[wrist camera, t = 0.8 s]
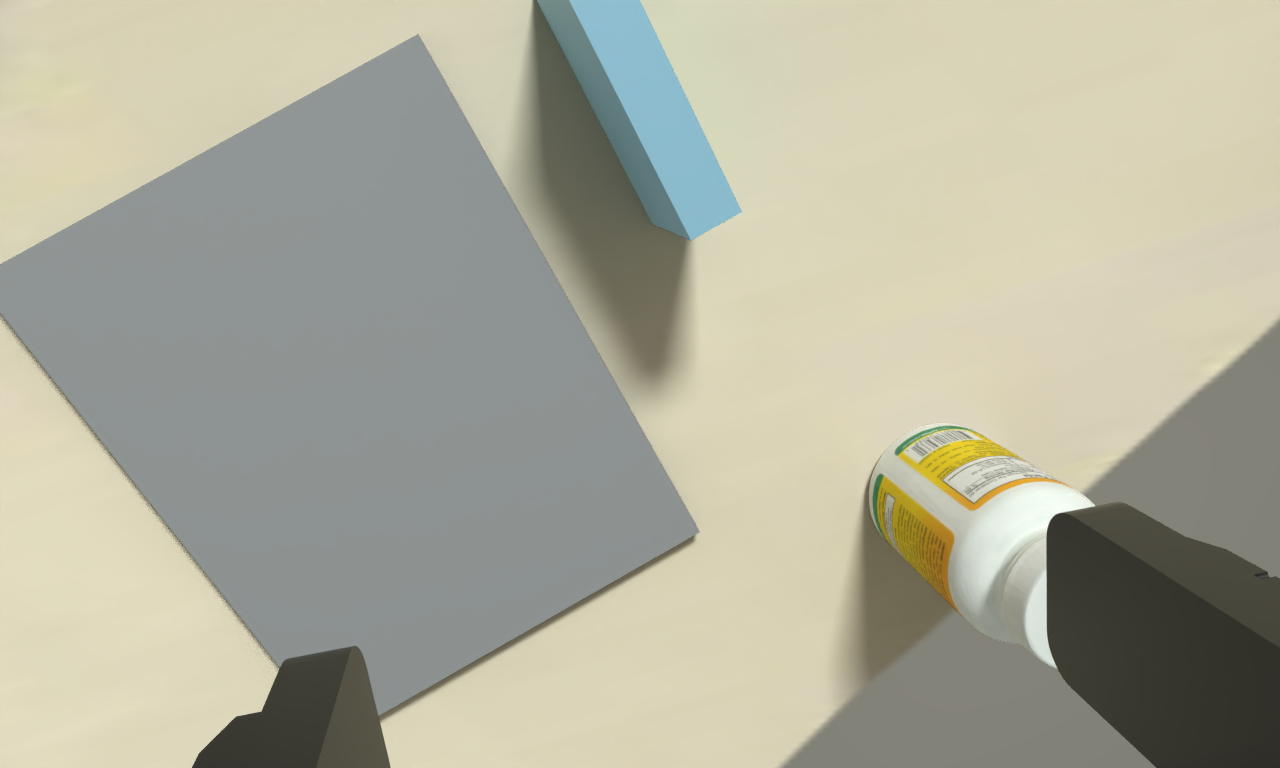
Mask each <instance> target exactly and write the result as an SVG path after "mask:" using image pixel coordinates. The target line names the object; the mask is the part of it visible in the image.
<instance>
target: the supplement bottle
mask: <svg viewBox="0 0 1280 768" xmlns="http://www.w3.org/2000/svg"><path fill="white" fill-rule="evenodd" d="M869 506H870V512H871V516H872V519H873V522H874V524H875V526H876V528H877V530H878V531H879V533H880V534H881V535H882V537H883V538H884V539H885V540H886V541H887V542H888V543H889V544H890V545H891V546H892V547H893V548H894V549H895V550H896V551H897V552H898V553H899V554H900V555H901V556H902V557H903V558H904V559H905V560H906V561H907V562H908V563H909V564H910V565H911V566H912V567H913V568H914V569H915V570H916V571H917V572H918V573H919V574H920V575H921V576H922V577H923V578H924V579H925V580H926V581H927V582H928V583H929V584H930V585H931V586H932V587H933V588H934V589H935V590H936V591H937V592H938V593H939V594H940V595H941V596H942V597H943V598H944V599H945V600H946V601H947V602H948V603H949V604H950V605H951V606H952V607H953V608H954V609H955V610H956V611H957V612H958V613H959V614H960V615H961V616H962V617H963V618H964V619H965V620H966V621H968V622H969V623H970V624H971V625H972V626H973V627H974V628H976V629H977V630H978V631H980V632H982V633H983V634H985V635H987V636H989V637H991V638H994V639H996V640H1000V641H1004V642H1008V643H1016V644H1021V645H1022V646H1024V647H1026V648H1027V649H1028V650H1029V651H1030V652H1031V653H1032V654H1034V655H1035V656H1036V657H1037V658H1038V659H1040V660H1041V661H1042V662H1044V663H1045V664H1047V665H1049V666H1051V667H1053V668H1056V669H1057V667H1056V665H1055V662H1054V660H1053V658H1052V655H1051V652H1050V648H1049V644H1048V638H1047V578H1046V537H1047V528H1048V525H1049V522H1050V520H1051V519H1052V517H1053V516H1055V515H1056V514H1058V513H1062V512H1067V511H1073V510H1078V509H1083V508H1088V507H1094V506H1095V505H1094V504H1093V503H1092V502H1091V501H1090V500H1089V499H1088V498H1086V497H1085V496H1084V495H1082V494H1081V493H1079V492H1078V491H1076V490H1075V489H1073V488H1071V487H1070V486H1068V485H1066V484H1065V483H1063V482H1061V481H1059V480H1058V479H1056V478H1054V477H1052V476H1051V475H1049V474H1047V473H1046V472H1044V471H1042V470H1040V469H1039V468H1037V467H1035V466H1034V465H1032V464H1030V463H1028V462H1027V461H1025V460H1023V459H1022V458H1020V457H1018V456H1017V455H1015V454H1013V453H1012V452H1010V451H1008V450H1007V449H1005V448H1003V447H1001V446H999V445H998V444H996V443H994V442H993V441H991V440H989V439H987V438H986V437H984V436H983V435H981V434H979V433H977V432H975V431H974V430H972V429H970V428H967V427H965V426H961V425H957V424H952V423H934V424H928V425H924V426H920V427H918V428H915V429H913V430H911V431H909V432H907V433H906V434H904V435H902V436H901V437H899V438H898V439H897V440H896V441H894V442H893V443H892V444H891V445H890V446H889V447H888V448H887V449H886V451H885V452H884V453H883V455H882V456H881V457H880V459H879V461H878V463H877V465H876V467H875V469H874V471H873V474H872V477H871V480H870V488H869Z"/></svg>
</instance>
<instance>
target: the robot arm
mask: <svg viewBox="0 0 1280 768" xmlns="http://www.w3.org/2000/svg"><path fill="white" fill-rule="evenodd" d="M1046 578H1047V638H1048V644H1049V648H1050V652H1051V655H1052V658H1053V660H1054V662H1055V665H1056V667H1057V669H1058V670H1059V672H1060V674H1061V675H1062V677H1063V679H1064V680H1065V681H1066V682H1067V684H1068V685H1069V686H1070V687H1071V688H1072V689H1073V690H1074V691H1075V692H1076V693H1077V694H1078V695H1079V696H1081V697H1082V698H1083V699H1084V700H1085V701H1086V702H1087V703H1088V704H1089V705H1090V706H1091V707H1092V708H1093V709H1094V710H1096V711H1097V712H1098V713H1099V714H1100V715H1101V716H1102V717H1103V718H1104V719H1105V720H1106V721H1107V722H1108V723H1109V724H1111V726H1113V727H1114V728H1115V729H1116V730H1117V731H1118V732H1119V733H1120V734H1121V735H1122V736H1123V737H1124V738H1125V739H1126V740H1128V741H1129V742H1130V743H1131V744H1132V745H1133V746H1134V747H1135V748H1136V749H1137V750H1138V751H1139V752H1140V753H1141V754H1142V755H1144V756H1145V757H1146V758H1147V759H1148V760H1149V761H1150V762H1151V763H1152V764H1153V765H1154V766H1155V767H1156V768H1280V579H1279V578H1278V577H1271V578H1270V577H1269V576H1268V573H1267V571H1265V570H1263V569H1261V568H1259V567H1257V566H1256V565H1254V564H1252V563H1250V562H1248V561H1246V560H1244V559H1243V558H1241V557H1239V556H1237V555H1236V554H1234V553H1232V552H1230V551H1228V550H1226V549H1223V548H1220V547H1216V546H1213V545H1210V544H1207V543H1204V542H1200V541H1197V540H1194V539H1191V538H1187V537H1185V536H1183V535H1181V534H1179V533H1177V532H1176V531H1173V530H1172V529H1170V528H1169V527H1167V526H1165V525H1163V524H1162V523H1160V522H1158V521H1156V520H1154V519H1152V518H1151V517H1149V516H1147V515H1146V514H1144V513H1142V512H1140V511H1138V510H1137V509H1135V508H1133V507H1131V506H1129V505H1127V504H1125V503H1121V502H1115V503H1109V504H1105V505H1099V506H1094V507H1088V508H1083V509H1078V510H1073V511H1067V512H1062V513H1058V514H1056V515H1055V516H1053V517H1052V519H1051V520H1050V522H1049V525H1048V528H1047V537H1046ZM192 768H390V763H389V759H388V754H387V750H386V746H385V742H384V738H383V733H382V729H381V725H380V721H379V717H378V712H377V708H376V704H375V700H374V696H373V691H372V687H371V683H370V679H369V675H368V670H367V667H366V663H365V660H364V657H363V654H362V652H361V650H360V649H359V648H358V647H357V646H351V647H346V648H341V649H335V650H330V651H325V652H320V653H314V654H309V655H304V656H299V657H293V658H288V659H285V660H284V661H283V663H282V665H281V667H280V669H279V671H278V674H277V676H276V678H275V681H274V683H273V686H272V688H271V690H270V693H269V695H268V697H267V700H266V702H265V705H264V707H263V709H262V712H258V713H253V714H247V715H242V716H237V717H235V718H234V719H233V720H232V721H231V722H230V723H229V724H228V725H227V726H226V727H225V728H224V729H223V730H222V731H221V732H220V733H219V734H218V735H217V736H216V737H215V738H214V739H213V740H212V741H211V742H210V743H209V744H208V745H207V746H206V747H205V748H204V749H203V750H202V751H201V752H200V753H199V755H198V757H197V759H196V761H195V763H194V765H193V767H192Z"/></svg>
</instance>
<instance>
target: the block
mask: <svg viewBox="0 0 1280 768" xmlns="http://www.w3.org/2000/svg"><path fill="white" fill-rule="evenodd" d="M536 1H537V3H538V5H539V7H540V8H541V10H542V12H543V14H544V16H545V18H546V20H547V22H548V24H549V26H550V28H551V30H552V32H553V34H554V35H555V37H556V39H557V41H558V43H559V45H560V47H561V49H562V51H563V53H564V55H565V57H566V59H567V61H568V62H569V64H570V66H571V68H572V70H573V72H574V74H575V76H576V78H577V80H578V82H579V84H580V86H581V88H582V89H583V91H584V93H585V95H586V97H587V99H588V101H589V103H590V105H591V107H592V109H593V111H594V113H595V115H596V116H597V118H598V120H599V122H600V124H601V126H602V128H603V130H604V132H605V134H606V136H607V138H608V140H609V142H610V143H611V145H612V147H613V149H614V151H615V153H616V155H617V157H618V159H619V161H620V163H621V165H622V167H623V169H624V171H625V172H626V174H627V176H628V178H629V180H630V182H631V184H632V186H633V188H634V190H635V192H636V194H637V196H638V198H639V199H640V201H641V203H642V205H643V207H644V209H645V211H646V213H647V215H648V217H649V219H650V221H651V223H652V224H654V225H656V226H658V227H661V228H663V229H665V230H668V231H670V232H672V233H675V234H677V235H679V236H682V237H684V238H686V239H689V240H693V239H694V238H696V237H698V236H700V235H702V234H703V233H705V232H707V231H709V230H710V229H712V228H714V227H716V226H718V225H719V224H721V223H723V222H725V221H726V220H728V219H730V218H732V217H734V216H735V215H737V214H739V213H741V212H742V211H741V209H740V207H739V205H738V203H737V201H736V198H735V196H734V194H733V192H732V190H731V188H730V186H729V184H728V182H727V180H726V178H725V176H724V174H723V172H722V169H721V167H720V165H719V163H718V161H717V159H716V157H715V155H714V153H713V151H712V149H711V147H710V145H709V143H708V140H707V138H706V136H705V134H704V132H703V130H702V128H701V126H700V124H699V122H698V120H697V118H696V116H695V114H694V111H693V109H692V107H691V105H690V103H689V101H688V99H687V97H686V95H685V93H684V91H683V89H682V87H681V85H680V82H679V80H678V78H677V76H676V74H675V72H674V70H673V68H672V66H671V64H670V62H669V60H668V58H667V56H666V53H665V51H664V49H663V47H662V45H661V43H660V41H659V39H658V37H657V35H656V33H655V31H654V29H653V27H652V24H651V22H650V20H649V18H648V16H647V14H646V12H645V10H644V8H643V6H642V4H641V2H640V0H536Z"/></svg>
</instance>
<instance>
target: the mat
mask: <svg viewBox="0 0 1280 768" xmlns="http://www.w3.org/2000/svg"><path fill="white" fill-rule="evenodd" d="M0 313H1V315H2V316H3V317H4V319H5V320H6V321H7V322H8V324H9V325H10V326H11V327H12V329H13V330H14V331H15V332H16V334H17V335H18V336H19V338H20V339H21V340H22V341H23V343H24V344H25V345H26V346H27V348H28V349H29V350H30V351H31V353H32V354H33V355H34V357H35V358H36V359H37V360H38V362H39V363H40V364H41V365H42V367H43V368H44V369H45V371H46V372H47V373H48V374H49V376H50V377H51V378H52V379H53V381H54V382H55V383H56V384H57V386H58V387H59V388H60V390H61V391H62V392H63V393H64V395H65V396H66V397H67V398H68V400H69V401H70V402H71V404H72V405H73V406H74V407H75V409H76V410H77V411H78V412H79V414H80V415H81V416H82V417H83V419H84V420H85V421H86V423H87V424H88V425H89V426H90V428H91V429H92V430H93V431H94V433H95V434H96V435H97V437H98V438H99V439H100V440H101V442H102V443H103V444H104V445H105V447H106V448H107V449H108V450H109V452H110V453H111V454H112V456H113V457H114V458H115V459H116V461H117V462H118V463H119V464H120V466H121V467H122V468H123V470H124V471H125V472H126V473H127V475H128V476H129V477H130V478H131V480H132V481H133V482H134V483H135V485H136V486H137V487H138V489H139V490H140V491H141V492H142V494H143V495H144V496H145V497H146V499H147V500H148V501H149V503H150V504H151V505H152V506H153V508H154V509H155V510H156V511H157V513H158V514H159V515H160V516H161V518H162V519H163V520H164V522H165V523H166V524H167V525H168V527H169V528H170V529H171V530H172V532H173V533H174V534H175V535H176V537H177V538H178V539H179V541H180V542H181V543H182V544H183V546H184V547H185V548H186V549H187V551H188V552H189V553H190V555H191V556H192V557H193V558H194V560H195V561H196V562H197V563H198V565H199V566H200V567H201V568H202V570H203V571H204V572H205V574H206V575H207V576H208V577H209V579H210V580H211V581H212V582H213V584H214V585H215V586H216V588H217V589H218V590H219V591H220V593H221V594H222V595H223V596H224V598H225V599H226V600H227V601H228V603H229V604H230V605H231V607H232V608H233V609H234V610H235V612H236V613H237V614H238V615H239V617H240V618H241V619H242V621H243V622H244V623H245V624H246V626H247V627H248V628H249V629H250V631H251V632H252V633H253V634H254V636H255V637H256V638H257V640H258V641H259V642H260V643H261V645H262V646H263V647H264V648H265V650H266V651H267V652H268V654H269V655H270V656H271V657H272V659H273V660H274V661H275V662H276V664H277V665H278V666H279V667H281V665H282V663H283V661H284V660H285V659H288V658H293V657H299V656H304V655H309V654H314V653H320V652H325V651H330V650H335V649H341V648H346V647H351V646H357V647H358V648H359V649H360V650H361V652H362V654H363V657H364V660H365V663H366V667H367V670H368V675H369V679H370V683H371V687H372V691H373V696H374V700H375V704H376V708H377V712H378V716H379V715H381V714H383V713H385V712H386V711H388V710H390V709H392V708H393V707H395V706H397V705H399V704H400V703H402V702H404V701H406V700H407V699H409V698H411V697H413V696H414V695H416V694H418V693H420V692H421V691H423V690H425V689H427V688H428V687H430V686H432V685H434V684H435V683H437V682H439V681H441V680H442V679H444V678H446V677H448V676H449V675H451V674H453V673H455V672H456V671H458V670H460V669H462V668H463V667H465V666H467V665H469V664H470V663H472V662H474V661H475V660H477V659H479V658H481V657H482V656H484V655H486V654H488V653H489V652H491V651H493V650H495V649H496V648H498V647H500V646H502V645H503V644H505V643H507V642H509V641H510V640H512V639H514V638H516V637H517V636H519V635H521V634H523V633H524V632H526V631H528V630H530V629H531V628H533V627H535V626H537V625H538V624H540V623H542V622H544V621H545V620H547V619H549V618H551V617H552V616H554V615H556V614H558V613H559V612H561V611H563V610H565V609H566V608H568V607H570V606H572V605H573V604H575V603H577V602H579V601H580V600H582V599H584V598H586V597H587V596H589V595H591V594H593V593H594V592H596V591H598V590H600V589H601V588H603V587H605V586H607V585H608V584H610V583H612V582H613V581H615V580H617V579H619V578H620V577H622V576H624V575H626V574H627V573H629V572H631V571H633V570H634V569H636V568H638V567H640V566H641V565H643V564H645V563H647V562H648V561H650V560H652V559H654V558H655V557H657V556H659V555H661V554H662V553H664V552H666V551H668V550H669V549H671V548H673V547H675V546H676V545H678V544H680V543H682V542H683V541H685V540H687V539H689V538H690V537H692V536H694V535H696V534H697V533H699V532H700V531H699V530H698V528H697V526H696V524H695V522H694V521H693V519H692V517H691V515H690V514H689V512H688V510H687V508H686V507H685V505H684V503H683V501H682V499H681V498H680V496H679V494H678V492H677V491H676V489H675V487H674V485H673V484H672V482H671V480H670V478H669V476H668V475H667V473H666V471H665V469H664V468H663V466H662V464H661V462H660V461H659V459H658V457H657V455H656V453H655V452H654V450H653V448H652V446H651V445H650V443H649V441H648V439H647V438H646V436H645V434H644V432H643V431H642V429H641V427H640V425H639V423H638V422H637V420H636V418H635V416H634V415H633V413H632V411H631V409H630V408H629V406H628V404H627V402H626V400H625V399H624V397H623V395H622V393H621V392H620V390H619V388H618V386H617V385H616V383H615V381H614V379H613V377H612V376H611V374H610V372H609V370H608V369H607V367H606V365H605V363H604V362H603V360H602V358H601V356H600V354H599V353H598V351H597V349H596V347H595V346H594V344H593V342H592V340H591V339H590V337H589V335H588V333H587V331H586V330H585V328H584V326H583V324H582V323H581V321H580V319H579V317H578V316H577V314H576V312H575V310H574V309H573V307H572V305H571V303H570V301H569V300H568V298H567V296H566V294H565V293H564V291H563V289H562V287H561V286H560V284H559V282H558V280H557V278H556V277H555V275H554V273H553V271H552V270H551V268H550V266H549V264H548V263H547V261H546V259H545V257H544V255H543V254H542V252H541V250H540V248H539V247H538V245H537V243H536V241H535V240H534V238H533V236H532V234H531V232H530V231H529V229H528V227H527V225H526V224H525V222H524V220H523V218H522V217H521V215H520V213H519V211H518V210H517V208H516V206H515V204H514V202H513V201H512V199H511V197H510V195H509V194H508V192H507V190H506V188H505V187H504V185H503V183H502V181H501V179H500V178H499V176H498V174H497V172H496V171H495V169H494V167H493V165H492V164H491V162H490V160H489V158H488V156H487V155H486V153H485V151H484V149H483V148H482V146H481V144H480V142H479V141H478V139H477V137H476V135H475V133H474V132H473V130H472V128H471V126H470V125H469V123H468V121H467V119H466V118H465V116H464V114H463V112H462V110H461V109H460V107H459V105H458V103H457V102H456V100H455V98H454V96H453V95H452V93H451V91H450V89H449V88H448V86H447V84H446V82H445V80H444V79H443V77H442V75H441V73H440V72H439V70H438V68H437V66H436V65H435V63H434V61H433V59H432V57H431V56H430V54H429V52H428V50H427V49H426V47H425V45H424V43H423V42H422V40H421V38H420V36H419V34H417V35H416V36H414V37H412V38H410V39H408V40H407V41H405V42H403V43H401V44H399V45H397V46H396V47H394V48H392V49H390V50H388V51H387V52H385V53H383V54H381V55H379V56H378V57H376V58H374V59H372V60H370V61H368V62H367V63H365V64H363V65H361V66H359V67H358V68H356V69H354V70H352V71H350V72H348V73H347V74H345V75H343V76H341V77H339V78H338V79H336V80H334V81H332V82H330V83H329V84H327V85H325V86H323V87H321V88H319V89H318V90H316V91H314V92H312V93H310V94H309V95H307V96H305V97H303V98H301V99H299V100H298V101H296V102H294V103H292V104H290V105H289V106H287V107H285V108H283V109H281V110H280V111H278V112H276V113H274V114H272V115H270V116H269V117H267V118H265V119H263V120H261V121H260V122H258V123H256V124H254V125H252V126H251V127H249V128H247V129H245V130H243V131H241V132H240V133H238V134H236V135H234V136H232V137H231V138H229V139H227V140H225V141H223V142H221V143H220V144H218V145H216V146H214V147H212V148H211V149H209V150H207V151H205V152H203V153H202V154H200V155H198V156H196V157H194V158H192V159H191V160H189V161H187V162H185V163H183V164H182V165H180V166H178V167H176V168H174V169H172V170H171V171H169V172H167V173H165V174H163V175H162V176H160V177H158V178H156V179H154V180H153V181H151V182H149V183H147V184H145V185H143V186H142V187H140V188H138V189H136V190H134V191H133V192H131V193H129V194H127V195H125V196H123V197H122V198H120V199H118V200H116V201H114V202H113V203H111V204H109V205H107V206H105V207H104V208H102V209H100V210H98V211H96V212H94V213H93V214H91V215H89V216H87V217H85V218H84V219H82V220H80V221H78V222H76V223H74V224H73V225H71V226H69V227H67V228H65V229H64V230H62V231H60V232H58V233H56V234H55V235H53V236H51V237H49V238H47V239H45V240H44V241H42V242H40V243H38V244H36V245H35V246H33V247H31V248H29V249H27V250H26V251H24V252H22V253H20V254H18V255H16V256H15V257H13V258H11V259H9V260H7V261H6V262H4V263H2V264H0Z"/></svg>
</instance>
